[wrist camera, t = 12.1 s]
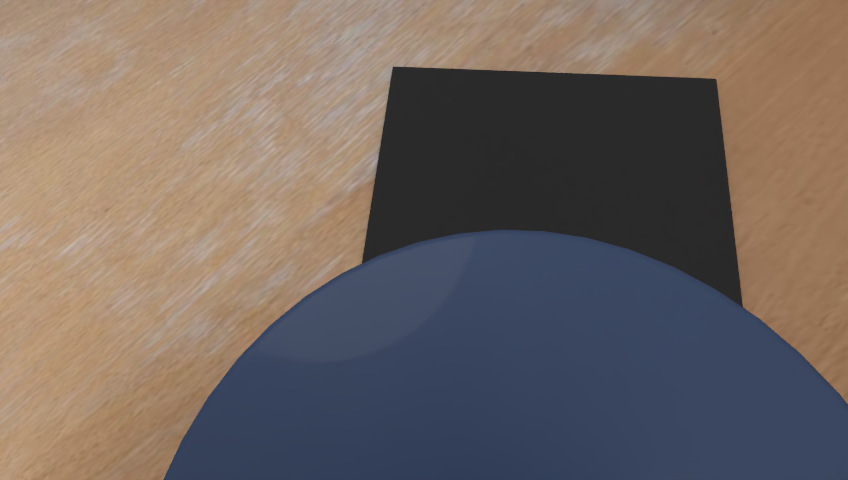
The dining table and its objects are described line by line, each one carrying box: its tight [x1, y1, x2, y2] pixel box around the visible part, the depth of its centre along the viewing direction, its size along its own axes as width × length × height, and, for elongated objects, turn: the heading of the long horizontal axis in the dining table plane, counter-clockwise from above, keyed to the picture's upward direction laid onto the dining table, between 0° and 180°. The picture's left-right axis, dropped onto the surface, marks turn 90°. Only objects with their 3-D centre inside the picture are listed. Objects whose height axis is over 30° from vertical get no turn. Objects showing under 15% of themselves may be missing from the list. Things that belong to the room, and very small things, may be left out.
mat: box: [362, 67, 743, 307], centre depth 23 cm, size 22×16×1 cm
